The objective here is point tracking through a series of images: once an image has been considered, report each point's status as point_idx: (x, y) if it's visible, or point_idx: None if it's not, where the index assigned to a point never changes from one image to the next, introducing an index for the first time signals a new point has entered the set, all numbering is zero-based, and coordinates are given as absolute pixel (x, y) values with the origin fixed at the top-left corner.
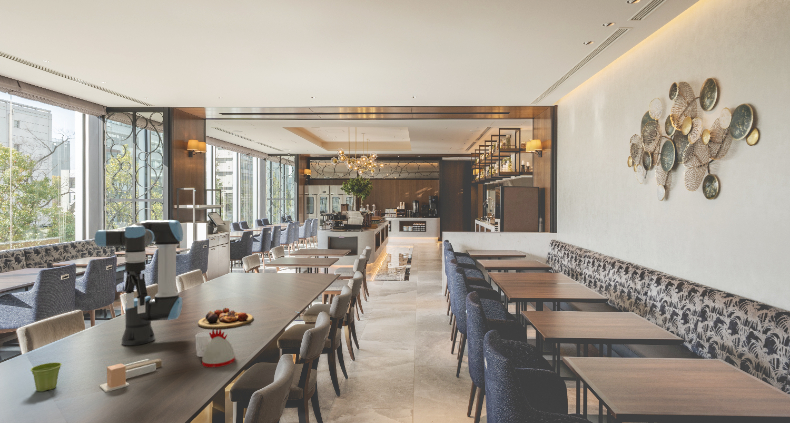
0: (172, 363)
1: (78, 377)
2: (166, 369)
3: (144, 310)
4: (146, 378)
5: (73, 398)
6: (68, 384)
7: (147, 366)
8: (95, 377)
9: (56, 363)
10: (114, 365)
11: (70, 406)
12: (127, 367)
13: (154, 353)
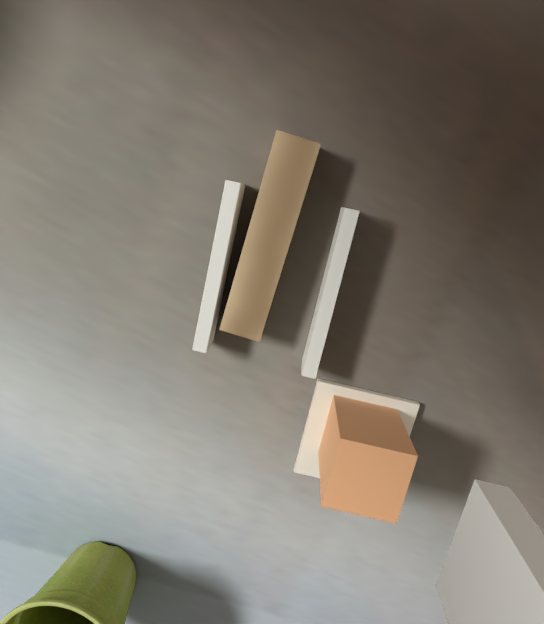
0: (337, 77)
1: (81, 450)
2: (396, 166)
3: (523, 528)
4: (413, 306)
5: (322, 576)
6: (136, 511)
7: (345, 260)
8: (154, 415)
9: (30, 606)
10: (338, 475)
11: (393, 616)
12: (245, 322)
13: (41, 12)
